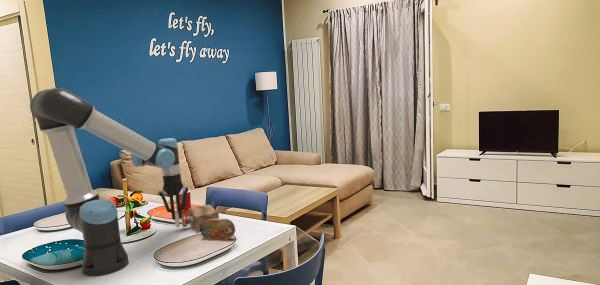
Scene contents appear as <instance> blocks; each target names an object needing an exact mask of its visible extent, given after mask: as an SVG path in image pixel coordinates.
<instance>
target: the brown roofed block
mask: <svg viewBox="0 0 600 285" xmlns="http://www.w3.org/2000/svg"><path fill="white" fill-rule="evenodd" d="M180 220H181V221H180V224H181V226H182V228H186V227H188V225H189V224H190V223H194V221H193V216H190V217H186V216H185V215H182V216H181V219H180ZM190 225H191V224H190Z"/></svg>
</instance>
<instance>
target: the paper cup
mask: <svg viewBox="0 0 600 285" xmlns="http://www.w3.org/2000/svg"><path fill="white" fill-rule="evenodd" d="M188 188H189V190H188V192H187V195H186V203H185V209H184V210H182V211H181V216H182V215H185V216H186V217H188V216H189V210H188V208H192V204H191V203H192V202H191V201H192V200H191V192H192V191H191V189H190V187H188ZM182 196H183V188H182V190H181V191H180V193H179V199H180V207H181V203H182Z"/></svg>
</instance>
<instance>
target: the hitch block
mask: <svg viewBox="0 0 600 285" xmlns="http://www.w3.org/2000/svg"><path fill="white" fill-rule="evenodd" d="M188 210H189V217H190V216H193V221H194V223H190V225H191V226H192V228H193V230H195V231H196V233H201V232H200V225H201V223H202V222H203V221H205V220H207V219H220V214H219V211H217V210H216V209H215V208H214V207H213V206H212V205H211V204H204V205H199V206H193V207H191V208H188Z"/></svg>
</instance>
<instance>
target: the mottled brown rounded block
mask: <svg viewBox="0 0 600 285" xmlns="http://www.w3.org/2000/svg"><path fill="white" fill-rule="evenodd" d="M199 233H200V234H201V236H202V237H203V238H204V239H206V240H208V241H209V240H211V241H228V240H230V239H232V237H233V236H235V233H236V227H235V224H234V222H233V221H232V220H230V219H228V218H219V219H207V220H205V221H203V222H202V223H201V225H200V232H199Z"/></svg>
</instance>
